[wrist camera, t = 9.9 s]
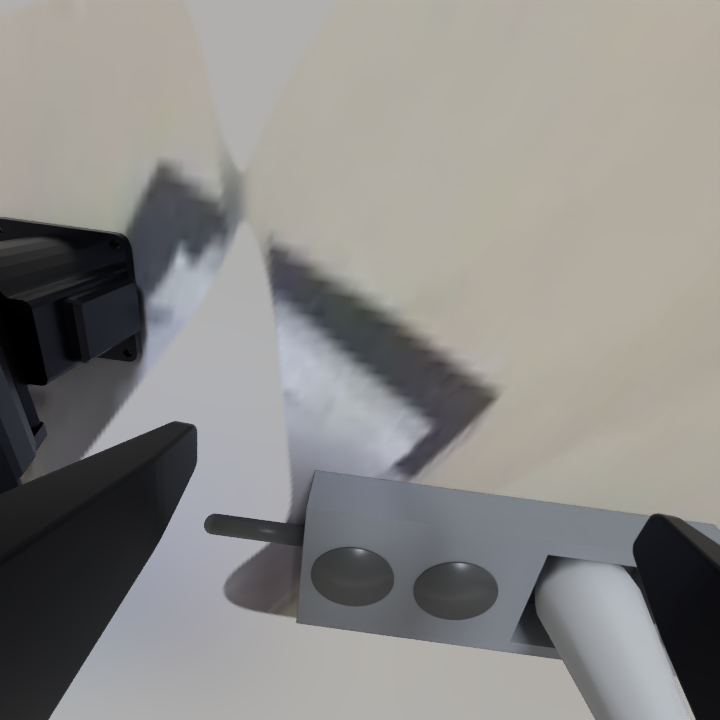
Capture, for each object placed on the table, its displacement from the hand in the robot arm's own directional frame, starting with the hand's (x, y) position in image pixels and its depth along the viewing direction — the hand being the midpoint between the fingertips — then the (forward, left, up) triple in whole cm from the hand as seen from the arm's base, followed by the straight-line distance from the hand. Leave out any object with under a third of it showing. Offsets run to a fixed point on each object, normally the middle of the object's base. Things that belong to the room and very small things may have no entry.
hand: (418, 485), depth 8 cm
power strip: (+5, -16, -13) cm, 21 cm away
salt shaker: (+14, -16, -13) cm, 24 cm away
